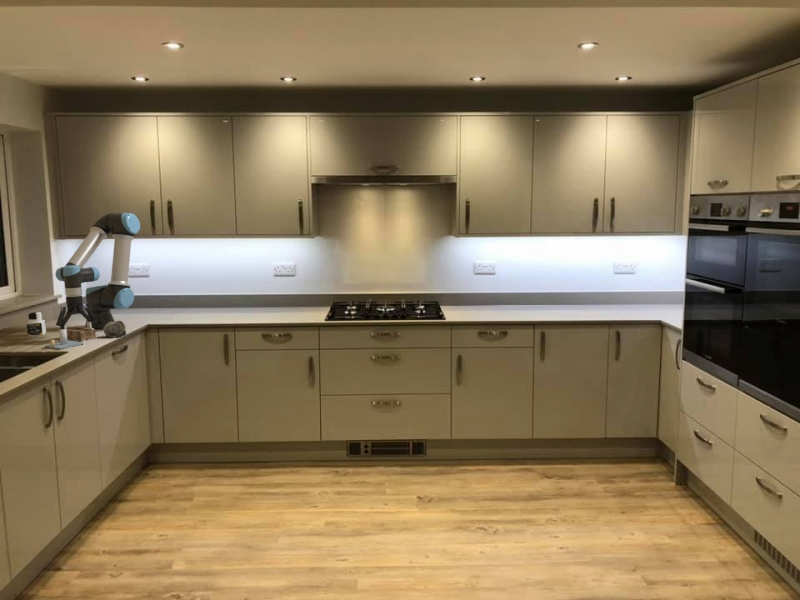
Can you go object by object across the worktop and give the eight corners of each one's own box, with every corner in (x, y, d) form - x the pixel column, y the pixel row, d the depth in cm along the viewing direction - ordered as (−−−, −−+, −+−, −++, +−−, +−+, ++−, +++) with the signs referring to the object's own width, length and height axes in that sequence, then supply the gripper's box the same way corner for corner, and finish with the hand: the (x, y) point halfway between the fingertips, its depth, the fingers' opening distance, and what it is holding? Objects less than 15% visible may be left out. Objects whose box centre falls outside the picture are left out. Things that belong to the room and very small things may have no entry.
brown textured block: (60, 338, 315) (59, 329, 314) (75, 335, 322) (74, 326, 321) (81, 341, 307) (80, 331, 306) (95, 338, 314) (95, 328, 313)
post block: (68, 342, 306) (66, 326, 304) (83, 344, 300) (81, 328, 299) (44, 347, 295) (42, 331, 294) (59, 349, 289) (57, 333, 288)
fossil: (106, 338, 310) (102, 320, 313) (104, 344, 318) (100, 326, 320) (129, 334, 317) (124, 317, 319) (126, 340, 324) (122, 322, 326)
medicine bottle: (27, 336, 322) (25, 314, 320) (31, 333, 329) (29, 311, 327) (42, 335, 324) (40, 313, 322) (46, 332, 331) (44, 311, 329)
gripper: (91, 292, 324) (95, 331, 327) (45, 298, 302) (49, 340, 305) (100, 293, 320) (104, 332, 323) (54, 299, 298) (58, 341, 301)
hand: (77, 336), depth 314 cm, fingers open, 13 cm apart
